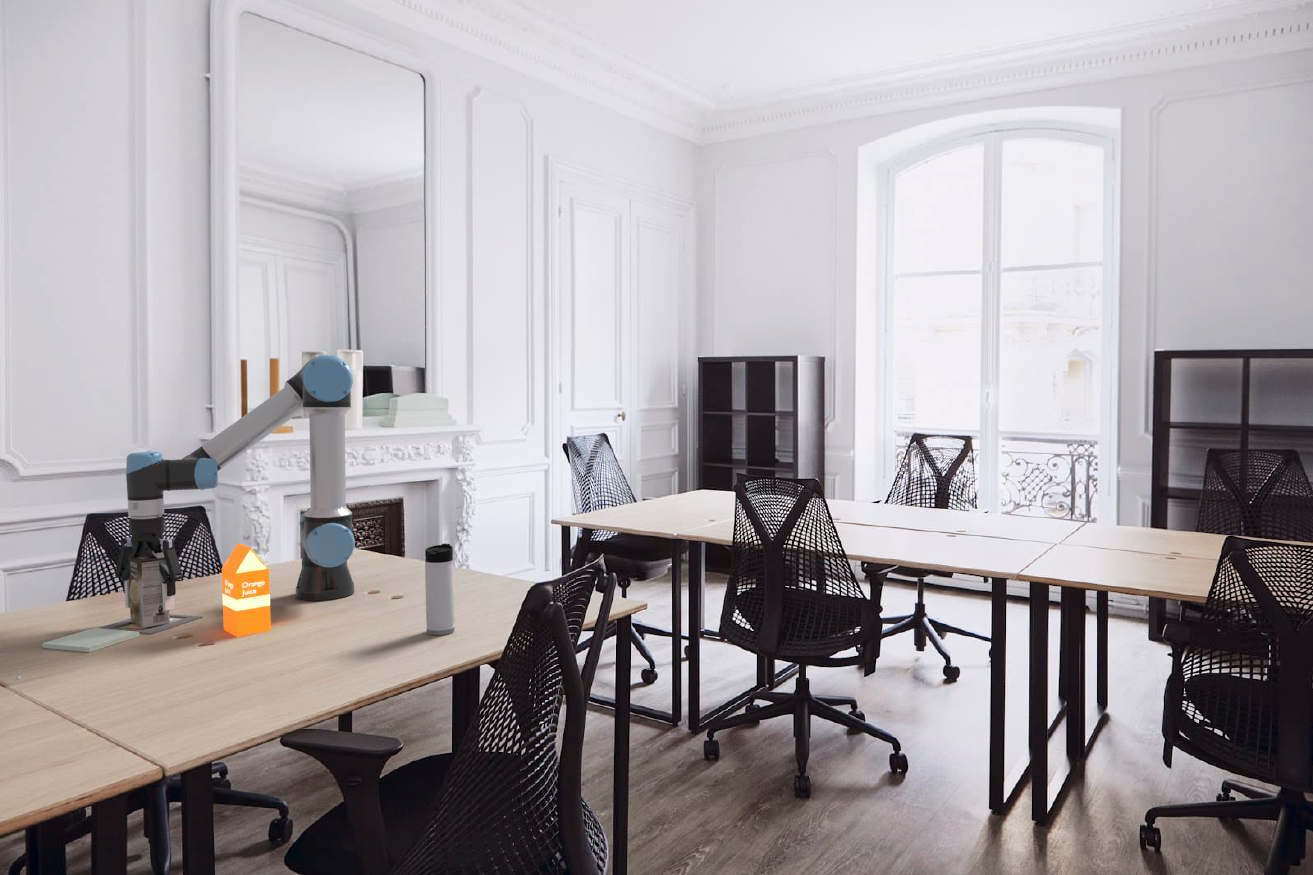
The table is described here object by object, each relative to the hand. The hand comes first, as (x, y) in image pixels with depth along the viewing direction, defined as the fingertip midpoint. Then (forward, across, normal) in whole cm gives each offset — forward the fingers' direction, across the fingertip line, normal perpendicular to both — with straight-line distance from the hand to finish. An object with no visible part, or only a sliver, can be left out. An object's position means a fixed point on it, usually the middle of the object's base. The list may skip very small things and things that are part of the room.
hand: (149, 607), depth 216 cm
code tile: (+4, 0, 0) cm, 4 cm away
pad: (+4, 0, -16) cm, 16 cm away
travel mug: (+4, +72, +11) cm, 73 cm away
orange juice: (+4, +27, +1) cm, 27 cm away
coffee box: (+4, 0, 0) cm, 4 cm away
